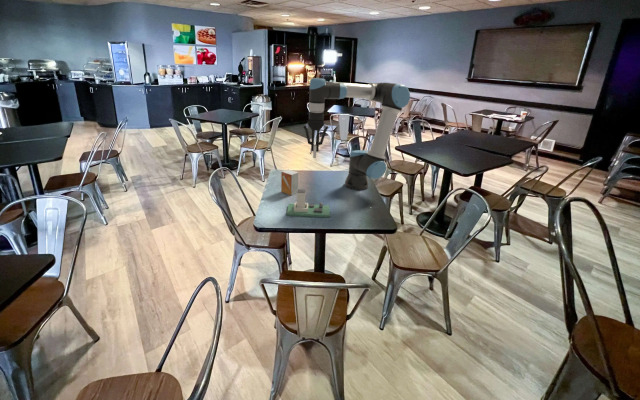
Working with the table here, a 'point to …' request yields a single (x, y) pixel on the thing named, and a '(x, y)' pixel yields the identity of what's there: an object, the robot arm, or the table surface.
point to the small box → (289, 182)
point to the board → (309, 210)
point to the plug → (301, 198)
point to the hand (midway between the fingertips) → (314, 157)
